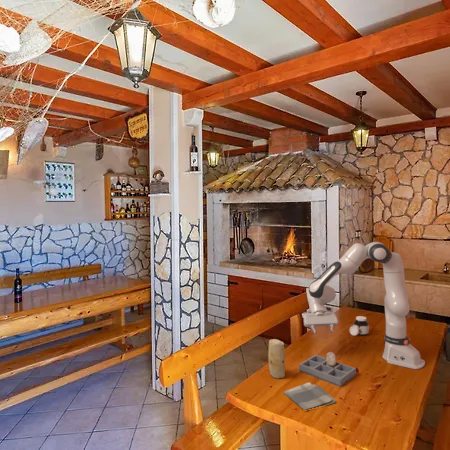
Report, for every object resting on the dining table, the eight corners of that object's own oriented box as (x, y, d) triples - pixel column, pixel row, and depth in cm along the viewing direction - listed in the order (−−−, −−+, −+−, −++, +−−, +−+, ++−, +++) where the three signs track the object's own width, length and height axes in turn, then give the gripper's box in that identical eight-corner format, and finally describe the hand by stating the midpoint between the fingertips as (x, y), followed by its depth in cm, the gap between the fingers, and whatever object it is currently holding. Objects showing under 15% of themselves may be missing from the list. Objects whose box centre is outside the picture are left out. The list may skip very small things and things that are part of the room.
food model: (287, 376, 196) (287, 340, 195) (281, 381, 191) (281, 344, 189) (271, 371, 202) (271, 336, 200) (265, 376, 196) (265, 340, 195)
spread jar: (369, 333, 255) (369, 317, 254) (366, 338, 246) (366, 322, 245) (352, 330, 262) (352, 314, 261) (348, 335, 252) (348, 319, 251)
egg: (337, 369, 201) (337, 352, 201) (332, 371, 198) (332, 354, 197) (329, 366, 205) (329, 349, 204) (324, 369, 201) (324, 352, 201)
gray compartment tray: (355, 375, 196) (355, 368, 195) (340, 386, 184) (340, 379, 183) (315, 361, 213) (315, 354, 213) (299, 370, 202) (299, 364, 201)
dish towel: (305, 413, 162) (305, 407, 162) (283, 394, 179) (283, 388, 178) (337, 403, 170) (337, 397, 170) (314, 386, 186) (314, 380, 186)
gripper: (302, 309, 218) (307, 331, 209) (335, 308, 219) (341, 329, 210) (300, 314, 223) (305, 335, 214) (332, 313, 224) (338, 334, 215)
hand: (323, 332), depth 212 cm, fingers open, 8 cm apart
